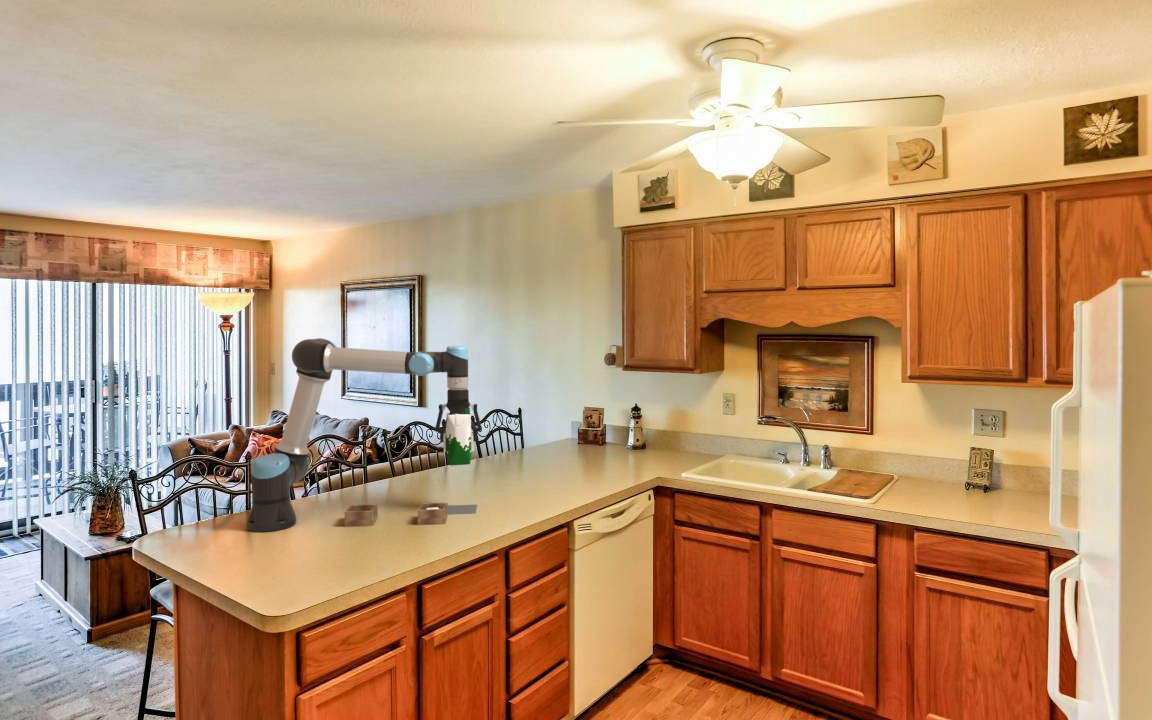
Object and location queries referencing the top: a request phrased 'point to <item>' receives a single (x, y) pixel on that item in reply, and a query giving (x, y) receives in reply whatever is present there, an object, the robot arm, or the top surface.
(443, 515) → the crate
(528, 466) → the top surface
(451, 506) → the coaster
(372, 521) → the crate
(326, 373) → the robot arm
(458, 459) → the soya milk
